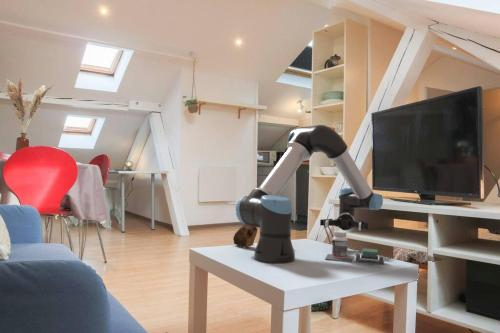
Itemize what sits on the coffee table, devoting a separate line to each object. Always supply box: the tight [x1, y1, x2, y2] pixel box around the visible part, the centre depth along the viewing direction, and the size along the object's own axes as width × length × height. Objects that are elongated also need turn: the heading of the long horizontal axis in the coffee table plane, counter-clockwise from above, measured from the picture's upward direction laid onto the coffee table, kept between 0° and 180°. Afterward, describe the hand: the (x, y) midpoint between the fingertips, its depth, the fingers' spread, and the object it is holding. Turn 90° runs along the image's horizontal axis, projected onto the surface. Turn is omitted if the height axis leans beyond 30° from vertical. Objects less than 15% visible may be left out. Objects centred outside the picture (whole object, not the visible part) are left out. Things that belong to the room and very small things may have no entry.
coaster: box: [324, 253, 354, 263], centre depth 145 cm, size 10×10×1 cm
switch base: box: [355, 253, 385, 266], centre depth 140 cm, size 10×4×3 cm, turn 72°
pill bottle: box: [331, 230, 349, 259], centre depth 145 cm, size 6×6×10 cm
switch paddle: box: [360, 247, 379, 260], centre depth 135 cm, size 6×1×12 cm
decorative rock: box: [232, 224, 258, 248], centre depth 164 cm, size 12×6×11 cm, turn 38°
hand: (342, 226), depth 155 cm, fingers open, 13 cm apart
